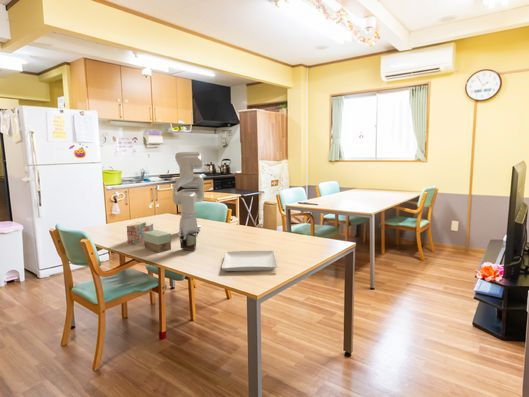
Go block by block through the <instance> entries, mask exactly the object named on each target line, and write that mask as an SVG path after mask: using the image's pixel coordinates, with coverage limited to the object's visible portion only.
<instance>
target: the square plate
mask: <svg viewBox="0 0 529 397" xmlns="http://www.w3.org/2000/svg"><path fill="white" fill-rule="evenodd" d="M276 268H278V262H277V259H276V254H275V250H236V251H233V250H232V251H226V252H225V253H224V258H223V262H222V264H221V269H222V270H223V271H225V272H262V271H272V270H275V269H276Z"/></svg>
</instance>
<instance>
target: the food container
mask: <svg viewBox="0 0 529 397" xmlns="http://www.w3.org/2000/svg"><path fill="white" fill-rule="evenodd" d="M198 235H199V234H198ZM198 235H197V232H196V233H192V234H188V235H186V239H185V240H186V245H187V246H183V244H182V239H181V238H180V237H179V245H180V249H181V250H182V249H183V250H189V251H195V250H196V248H197V238H198ZM181 236H182V234H181Z"/></svg>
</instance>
